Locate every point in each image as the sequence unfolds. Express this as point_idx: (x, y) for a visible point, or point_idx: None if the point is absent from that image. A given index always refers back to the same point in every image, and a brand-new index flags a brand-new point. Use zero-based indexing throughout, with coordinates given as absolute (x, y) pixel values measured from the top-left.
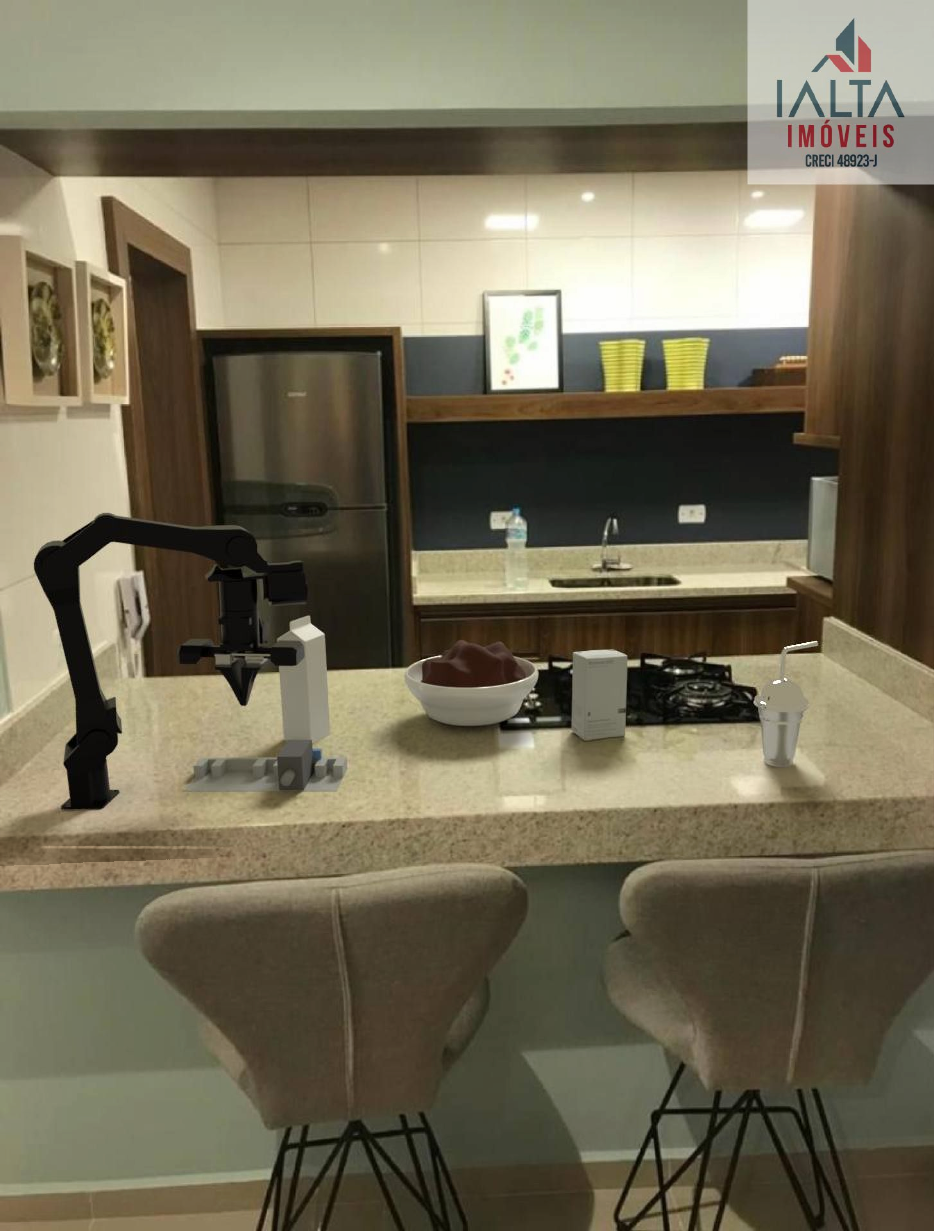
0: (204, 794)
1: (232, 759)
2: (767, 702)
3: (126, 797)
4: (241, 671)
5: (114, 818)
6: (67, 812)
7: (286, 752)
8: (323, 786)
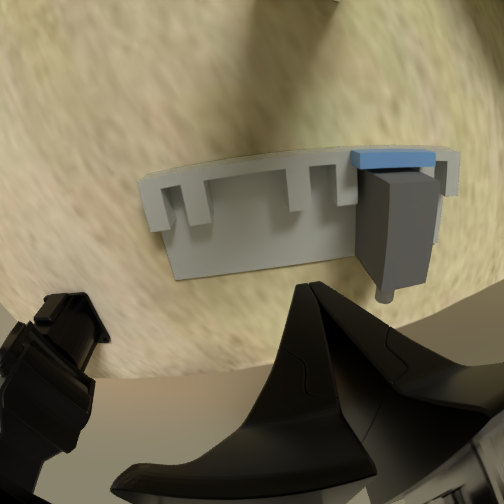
0: (218, 278)
1: (219, 177)
2: None
3: (104, 301)
4: (370, 490)
5: (143, 354)
6: None
7: (397, 267)
8: None
